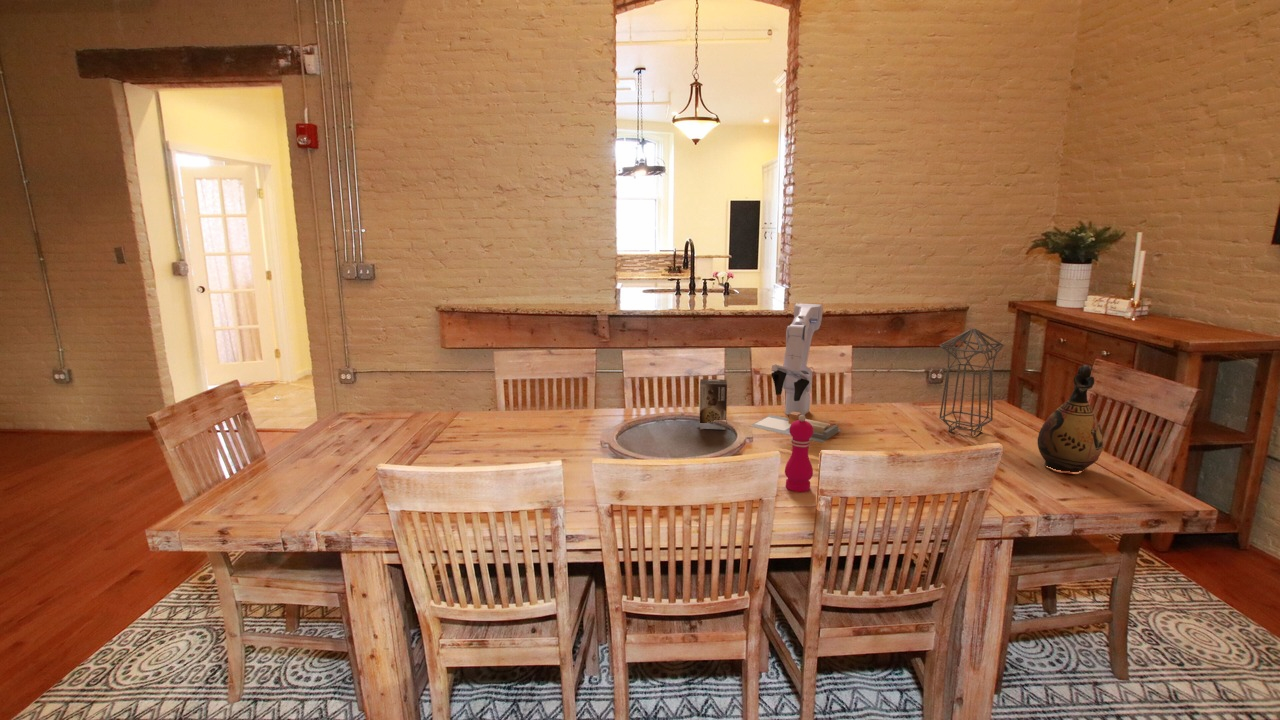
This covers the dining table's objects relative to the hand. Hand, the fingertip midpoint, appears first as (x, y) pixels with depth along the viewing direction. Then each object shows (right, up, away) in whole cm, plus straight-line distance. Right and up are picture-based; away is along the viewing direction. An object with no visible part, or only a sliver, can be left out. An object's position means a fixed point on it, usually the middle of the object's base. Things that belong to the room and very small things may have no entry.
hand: (787, 397), depth 214 cm
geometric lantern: (+59, -12, +4) cm, 60 cm away
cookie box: (-24, -11, +6) cm, 27 cm away
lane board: (+3, -11, +4) cm, 12 cm away
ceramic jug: (+73, -19, -27) cm, 81 cm away
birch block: (+7, -11, +1) cm, 13 cm away
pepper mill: (-7, -22, -42) cm, 47 cm away
